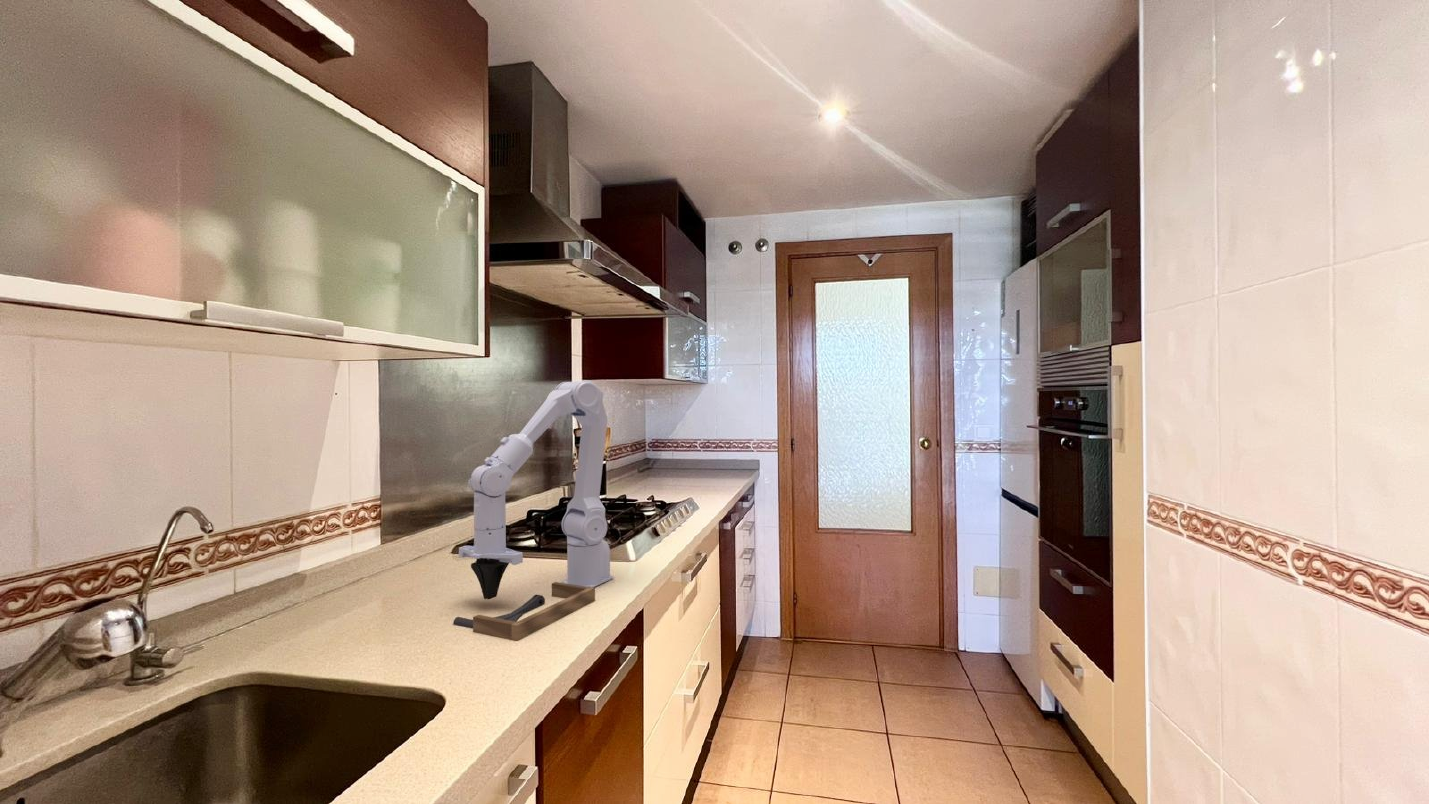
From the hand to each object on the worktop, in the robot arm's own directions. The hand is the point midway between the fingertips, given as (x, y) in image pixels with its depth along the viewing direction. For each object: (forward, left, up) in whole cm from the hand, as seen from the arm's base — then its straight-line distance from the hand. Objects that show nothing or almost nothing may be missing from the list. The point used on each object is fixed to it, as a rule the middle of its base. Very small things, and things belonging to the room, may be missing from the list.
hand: (490, 597), depth 111 cm
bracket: (+2, +8, -3) cm, 9 cm away
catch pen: (0, +12, -2) cm, 12 cm away
